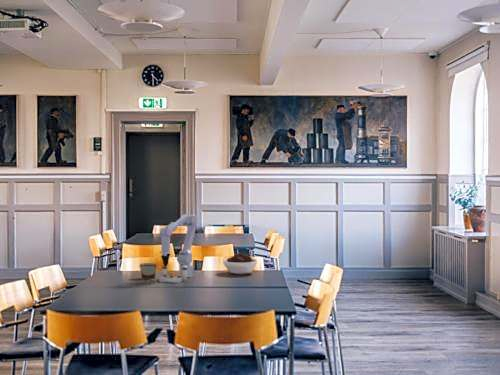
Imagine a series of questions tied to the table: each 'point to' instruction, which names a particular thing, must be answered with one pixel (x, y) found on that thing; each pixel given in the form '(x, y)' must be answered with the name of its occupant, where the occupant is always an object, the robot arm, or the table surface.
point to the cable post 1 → (164, 270)
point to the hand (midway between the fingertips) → (165, 265)
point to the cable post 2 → (184, 273)
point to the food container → (148, 270)
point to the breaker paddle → (172, 273)
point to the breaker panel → (171, 279)
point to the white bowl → (240, 264)
